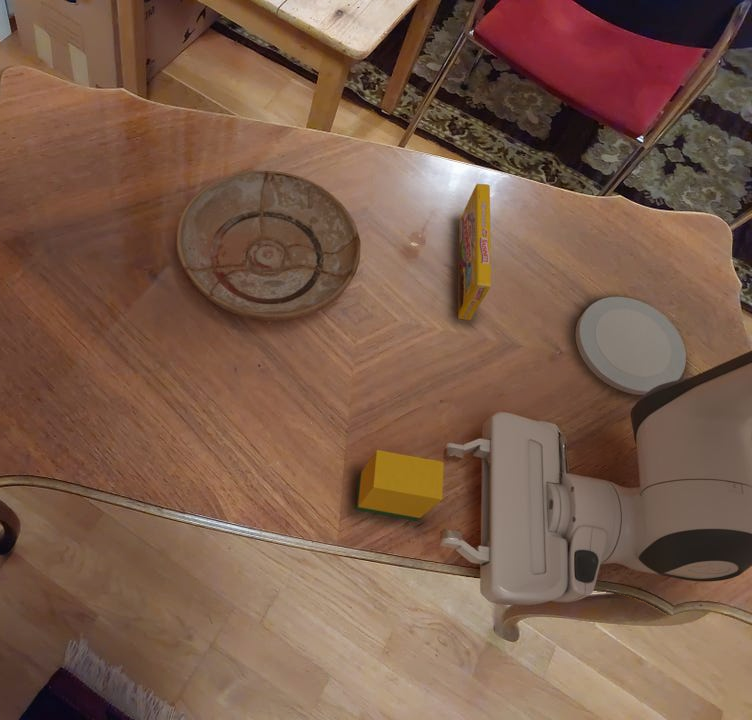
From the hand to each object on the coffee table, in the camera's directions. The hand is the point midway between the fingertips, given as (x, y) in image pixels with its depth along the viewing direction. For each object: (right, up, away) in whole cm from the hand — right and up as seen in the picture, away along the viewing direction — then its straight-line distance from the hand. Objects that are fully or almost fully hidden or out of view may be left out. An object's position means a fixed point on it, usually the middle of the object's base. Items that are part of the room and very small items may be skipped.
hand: (443, 492), depth 70 cm
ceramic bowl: (-19, +27, +18) cm, 38 cm away
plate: (+28, +16, +16) cm, 36 cm away
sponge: (-5, -1, +4) cm, 7 cm away
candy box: (+8, +26, +20) cm, 34 cm away
